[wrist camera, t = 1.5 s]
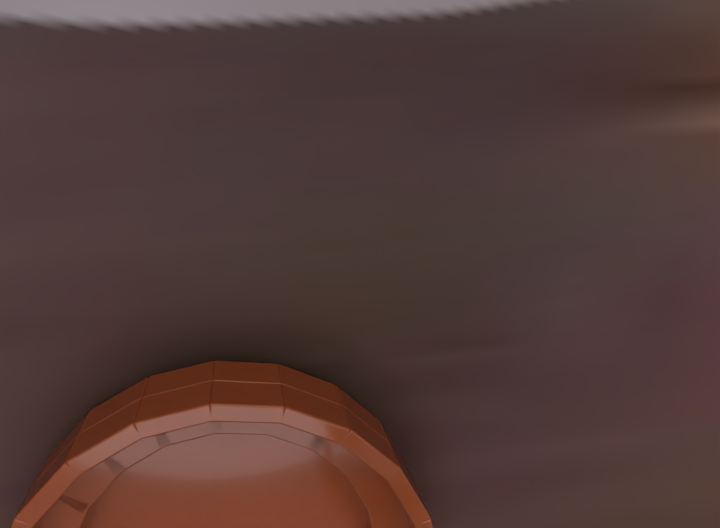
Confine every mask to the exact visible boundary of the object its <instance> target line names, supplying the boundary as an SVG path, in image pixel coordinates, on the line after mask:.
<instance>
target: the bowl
mask: <svg viewBox="0 0 720 528" xmlns="http://www.w3.org/2000/svg"><path fill="white" fill-rule="evenodd" d="M10 528H433V525H432V519H431V517H430V514H429V512H428V510H427V508H426V506H425V504H424V502H423V500H422V498H421V496H420V494H419V492H418V489H417V487H416V485H415V483H414V481H413V479H412V477H411V475H410V473H409V470H408V468H407V466H406V464H405V462H404V461H403V459H402V457H401V456H400V454H399V452H398V451H397V449H396V447H395V446H394V444H393V442H392V441H391V439H390V438H389V436H388V434H387V433H386V431H385V429H384V428H383V426H382V424H381V423H380V421H379V420H378V419H377V418H376V417H375V416H373V415H372V414H371V413H370V412H368V411H367V410H366V409H365V408H363V407H362V406H361V405H360V404H358V403H357V402H356V401H355V400H353V399H352V398H351V397H350V396H349V395H347V394H346V393H345V392H344V391H342V390H341V389H340V388H339V387H337V386H335V385H334V384H332V383H329V382H326V381H324V380H321V379H318V378H316V377H313V376H310V375H307V374H305V373H302V372H299V371H297V370H294V369H291V368H288V367H286V366H283V365H280V364H279V365H278V364H272V363H252V362H233V361H210V362H206V363H202V364H198V365H194V366H190V367H185V368H181V369H177V370H173V371H169V372H165V373H160V374H156V375H152V376H150V377H147V378H145V379H143V380H142V381H140V382H138V383H136V384H135V385H133V386H131V387H130V388H128V389H126V390H124V391H123V392H121V393H119V394H117V395H116V396H114V397H112V398H111V399H109V400H107V401H105V402H104V403H102V404H100V405H98V406H97V407H95V408H93V409H92V410H91V411H89V412H88V413H87V414H86V416H85V417H84V418H83V419H82V420H81V421H80V422H79V423H78V424H77V425H76V427H75V428H74V429H73V430H72V431H71V432H70V433H69V434H68V435H67V436H66V438H65V439H64V440H63V441H62V442H61V443H60V444H59V445H58V446H57V447H56V449H55V450H54V451H53V452H52V453H51V454H50V455H49V456H48V458H47V460H46V461H45V463H44V465H43V467H42V469H41V471H40V472H39V474H38V476H37V478H36V480H35V481H34V483H33V485H32V487H31V489H30V491H29V492H28V494H27V496H26V498H25V500H24V501H23V503H22V505H21V507H20V509H19V511H18V512H17V514H16V516H15V518H14V520H13V522H12V525H11V527H10Z"/></svg>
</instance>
